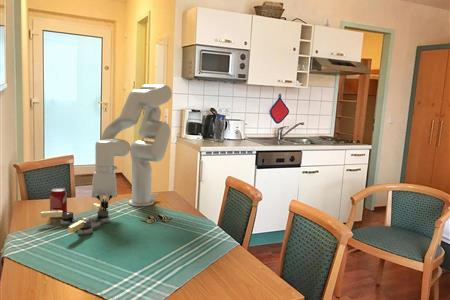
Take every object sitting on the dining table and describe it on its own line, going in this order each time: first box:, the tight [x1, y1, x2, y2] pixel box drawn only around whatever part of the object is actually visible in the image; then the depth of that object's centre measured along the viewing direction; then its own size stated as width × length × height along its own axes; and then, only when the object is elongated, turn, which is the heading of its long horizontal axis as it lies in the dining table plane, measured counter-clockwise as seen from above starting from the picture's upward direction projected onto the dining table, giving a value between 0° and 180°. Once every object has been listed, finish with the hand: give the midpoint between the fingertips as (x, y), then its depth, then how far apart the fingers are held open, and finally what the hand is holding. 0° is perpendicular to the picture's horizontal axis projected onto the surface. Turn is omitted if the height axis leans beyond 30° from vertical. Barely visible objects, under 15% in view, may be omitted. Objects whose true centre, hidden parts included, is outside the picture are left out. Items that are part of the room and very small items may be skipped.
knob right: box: [38, 210, 74, 221], centre depth 155 cm, size 13×4×4 cm, turn 109°
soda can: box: [49, 187, 68, 219], centre depth 166 cm, size 7×7×12 cm
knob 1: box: [67, 220, 91, 234], centre depth 144 cm, size 13×4×4 cm, turn 169°
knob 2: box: [91, 202, 109, 219], centre depth 165 cm, size 13×4×4 cm, turn 38°
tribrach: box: [60, 215, 110, 236], centre depth 157 cm, size 17×19×3 cm
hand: (104, 209), depth 168 cm, fingers closed
